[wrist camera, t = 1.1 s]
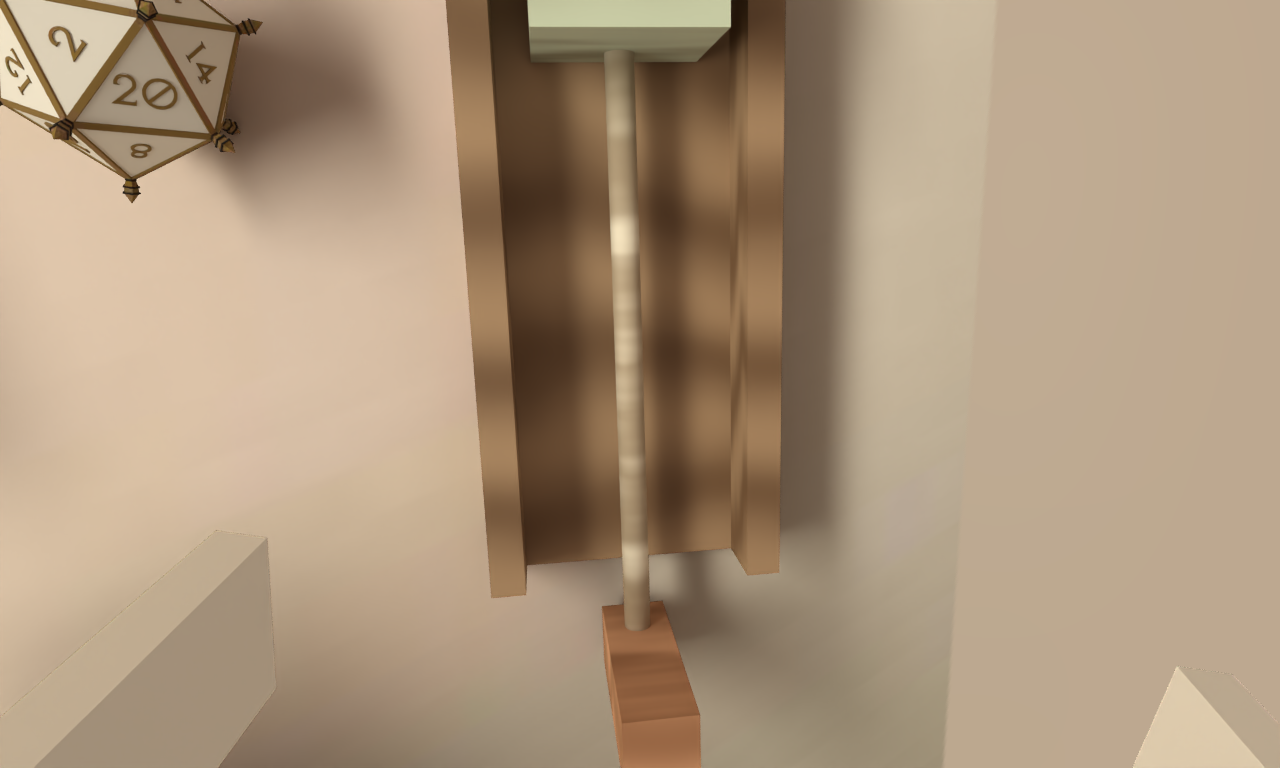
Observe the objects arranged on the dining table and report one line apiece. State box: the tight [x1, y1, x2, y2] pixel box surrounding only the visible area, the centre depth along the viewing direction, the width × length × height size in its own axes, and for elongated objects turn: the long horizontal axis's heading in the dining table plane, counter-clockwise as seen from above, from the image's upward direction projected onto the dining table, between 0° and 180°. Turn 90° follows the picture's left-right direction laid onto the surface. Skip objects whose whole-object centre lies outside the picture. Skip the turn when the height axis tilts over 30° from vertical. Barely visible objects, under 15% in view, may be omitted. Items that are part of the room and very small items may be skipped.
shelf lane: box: [446, 0, 785, 598], centre depth 33 cm, size 32×13×4 cm, turn 2°
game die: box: [0, 0, 263, 203], centre depth 27 cm, size 9×8×10 cm
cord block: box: [527, 0, 731, 768], centre depth 30 cm, size 35×7×9 cm, turn 2°
